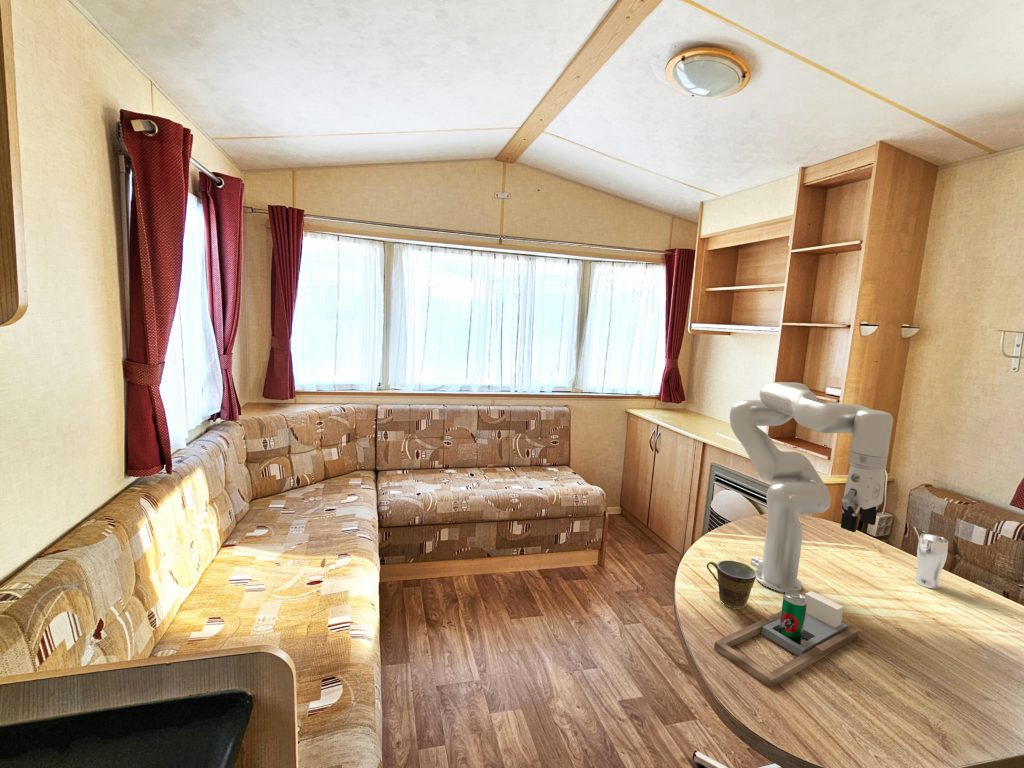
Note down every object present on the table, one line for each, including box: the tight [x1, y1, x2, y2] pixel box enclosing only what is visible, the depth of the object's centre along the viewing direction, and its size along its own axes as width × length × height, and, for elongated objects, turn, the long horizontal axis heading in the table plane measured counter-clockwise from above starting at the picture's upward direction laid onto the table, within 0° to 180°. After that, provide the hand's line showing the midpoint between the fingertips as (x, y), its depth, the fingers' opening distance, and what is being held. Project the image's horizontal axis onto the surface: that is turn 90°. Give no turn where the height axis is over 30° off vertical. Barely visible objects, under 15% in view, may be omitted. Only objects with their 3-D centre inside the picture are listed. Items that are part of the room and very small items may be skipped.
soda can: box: [779, 591, 807, 645], centre depth 120 cm, size 5×5×12 cm
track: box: [713, 610, 860, 688], centre depth 120 cm, size 14×38×2 cm, turn 121°
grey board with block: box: [760, 590, 849, 657], centre depth 124 cm, size 10×21×7 cm, turn 121°
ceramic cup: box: [706, 559, 756, 610], centre depth 137 cm, size 13×10×10 cm
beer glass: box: [913, 533, 949, 590], centre depth 151 cm, size 7×7×15 cm
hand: (857, 526), depth 123 cm, fingers open, 9 cm apart
